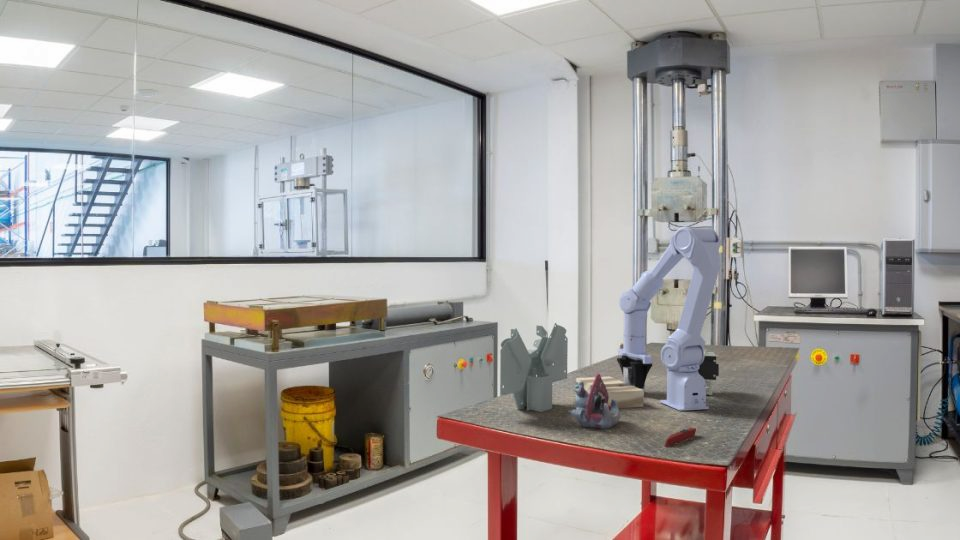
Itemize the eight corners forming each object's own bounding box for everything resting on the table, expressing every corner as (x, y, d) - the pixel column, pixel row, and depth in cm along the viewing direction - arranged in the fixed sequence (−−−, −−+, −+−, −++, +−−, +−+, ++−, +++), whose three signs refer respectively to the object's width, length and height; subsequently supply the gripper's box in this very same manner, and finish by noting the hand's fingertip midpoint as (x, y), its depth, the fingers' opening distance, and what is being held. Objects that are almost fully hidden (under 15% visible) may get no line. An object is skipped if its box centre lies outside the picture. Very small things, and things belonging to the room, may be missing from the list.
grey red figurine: (617, 423, 125) (585, 373, 129) (577, 448, 130) (547, 399, 134) (636, 412, 135) (605, 365, 139) (598, 435, 140) (570, 390, 144)
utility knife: (692, 435, 126) (692, 425, 126) (697, 436, 125) (697, 426, 125) (662, 447, 118) (662, 436, 118) (667, 448, 117) (667, 438, 117)
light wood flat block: (643, 406, 150) (643, 390, 150) (606, 408, 147) (606, 392, 147) (610, 391, 167) (610, 376, 167) (576, 392, 165) (576, 378, 165)
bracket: (554, 396, 161) (555, 320, 160) (578, 400, 156) (578, 322, 156) (487, 416, 140) (488, 328, 139) (511, 421, 135) (512, 331, 135)
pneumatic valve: (697, 397, 160) (697, 352, 159) (695, 388, 171) (695, 346, 171) (719, 399, 158) (720, 353, 158) (716, 390, 169) (716, 347, 169)
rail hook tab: (644, 394, 164) (644, 368, 164) (627, 394, 163) (627, 368, 163) (639, 392, 166) (640, 366, 166) (623, 392, 165) (623, 367, 165)
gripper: (608, 332, 170) (608, 381, 171) (634, 339, 156) (633, 392, 156) (631, 332, 172) (631, 380, 172) (659, 339, 158) (658, 391, 158)
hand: (633, 386), depth 164 cm, fingers open, 5 cm apart
